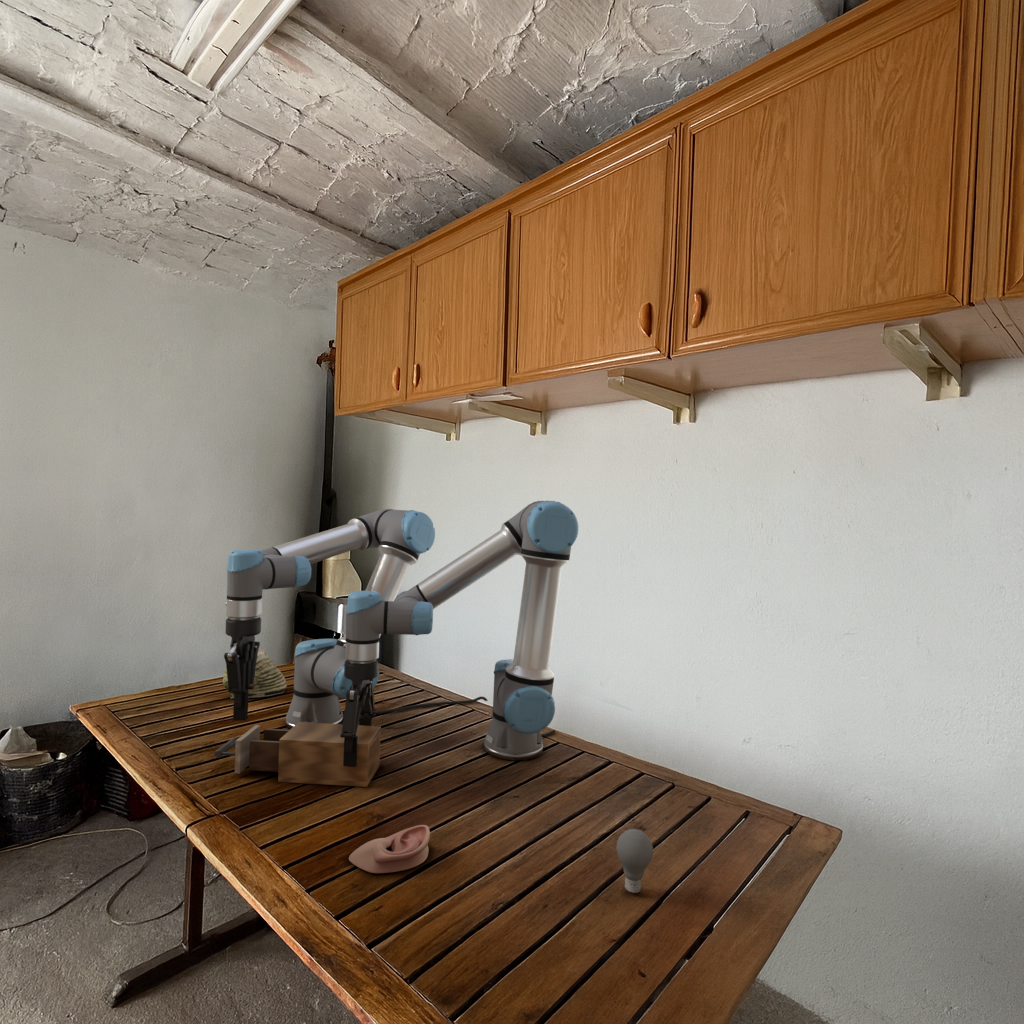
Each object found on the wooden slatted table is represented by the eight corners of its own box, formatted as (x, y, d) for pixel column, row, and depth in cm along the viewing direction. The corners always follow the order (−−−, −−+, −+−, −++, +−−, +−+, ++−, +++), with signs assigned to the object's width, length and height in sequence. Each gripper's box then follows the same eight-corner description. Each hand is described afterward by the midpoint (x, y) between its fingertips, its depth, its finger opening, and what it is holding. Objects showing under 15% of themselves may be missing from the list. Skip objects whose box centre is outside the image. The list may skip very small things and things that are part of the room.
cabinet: (277, 781, 140) (279, 739, 140) (297, 761, 151) (298, 721, 151) (366, 786, 139) (368, 744, 139) (379, 765, 150) (380, 726, 150)
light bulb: (610, 879, 108) (613, 822, 108) (644, 879, 109) (647, 822, 109) (619, 902, 102) (622, 840, 102) (655, 901, 103) (658, 840, 103)
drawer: (211, 772, 141) (212, 739, 141) (233, 754, 151) (233, 723, 151) (316, 778, 140) (317, 745, 140) (331, 759, 150) (332, 728, 150)
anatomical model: (341, 845, 108) (369, 813, 120) (340, 868, 108) (368, 833, 120) (414, 857, 106) (436, 823, 117) (413, 880, 106) (435, 844, 117)
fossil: (218, 695, 195) (220, 647, 195) (278, 685, 208) (279, 640, 207) (228, 703, 189) (230, 653, 188) (289, 692, 201) (290, 645, 201)
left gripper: (241, 611, 152) (237, 708, 152) (213, 621, 139) (209, 728, 139) (271, 612, 151) (268, 710, 152) (246, 623, 138) (243, 730, 139)
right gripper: (360, 646, 156) (356, 734, 156) (328, 672, 133) (323, 776, 133) (390, 648, 156) (386, 736, 156) (363, 674, 132) (359, 778, 133)
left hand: (240, 718), depth 146 cm, fingers closed
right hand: (357, 755), depth 145 cm, fingers closed on cabinet, 11 cm apart
